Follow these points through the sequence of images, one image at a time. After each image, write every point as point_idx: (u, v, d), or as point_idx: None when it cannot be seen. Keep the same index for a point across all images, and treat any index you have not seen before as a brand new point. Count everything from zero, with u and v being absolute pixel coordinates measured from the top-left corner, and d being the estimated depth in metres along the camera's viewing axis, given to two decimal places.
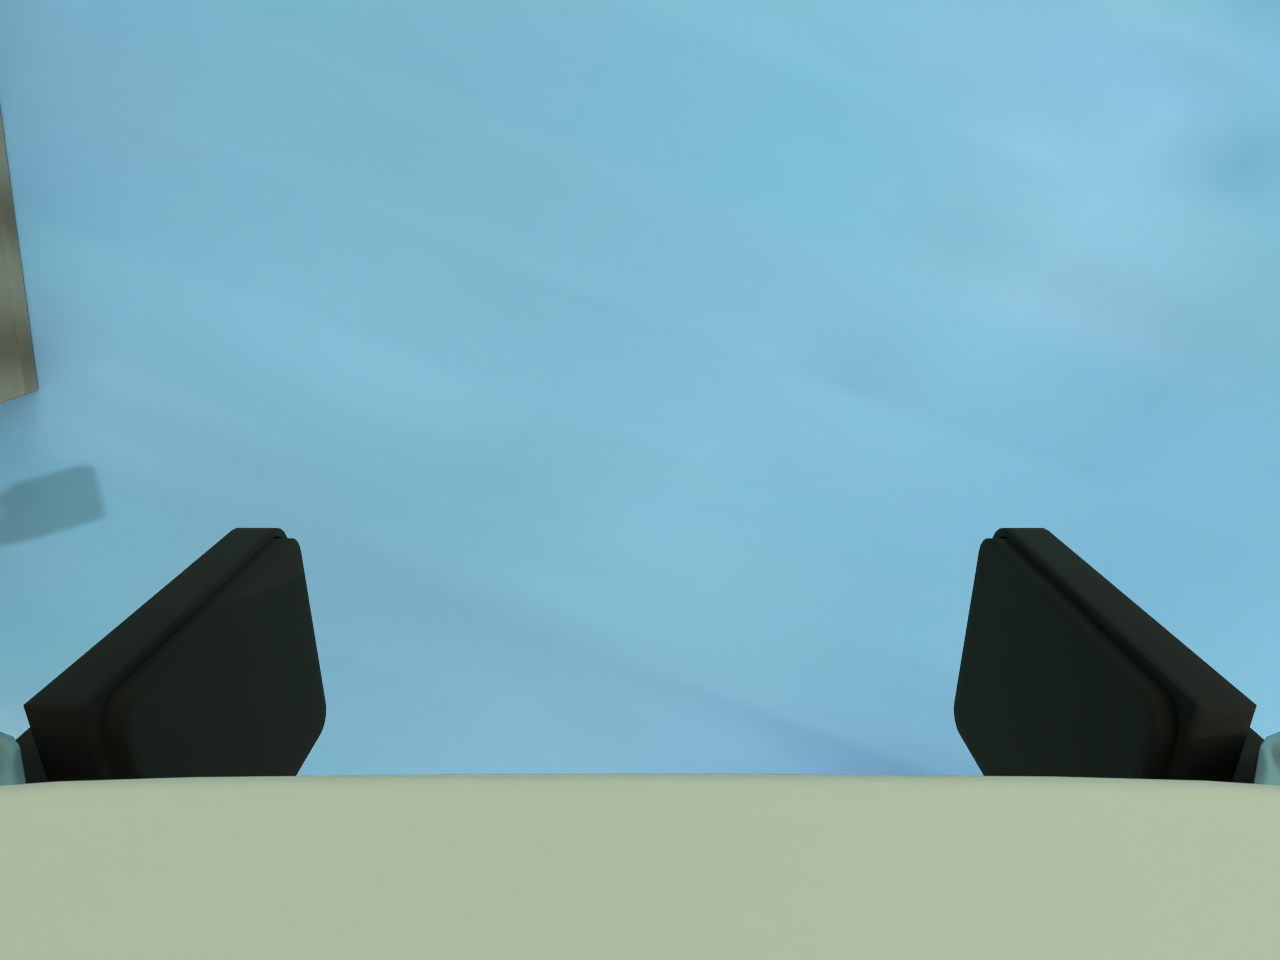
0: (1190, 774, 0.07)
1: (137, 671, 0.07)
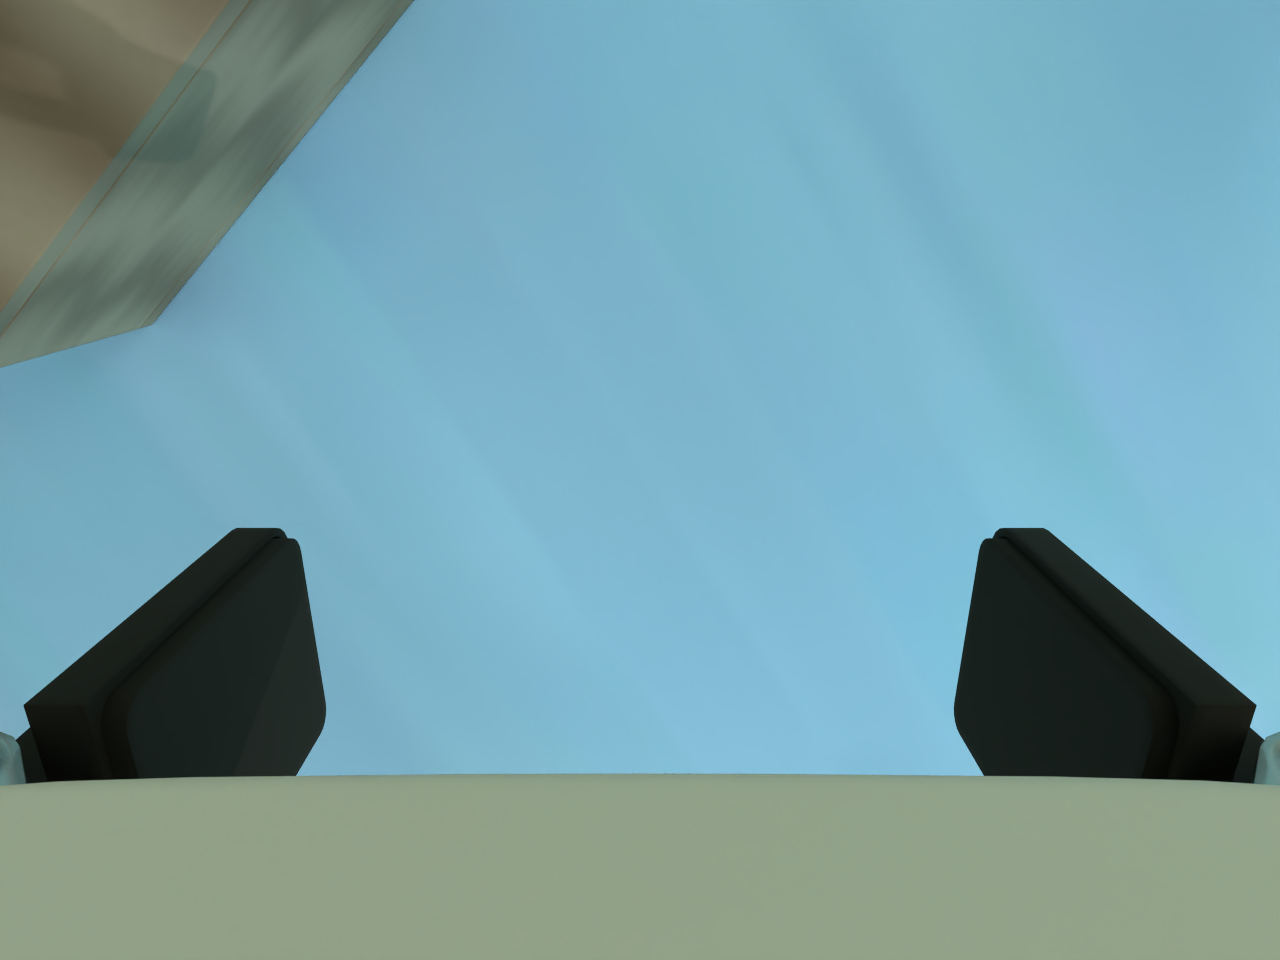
0: (1190, 775, 0.07)
1: (137, 671, 0.07)
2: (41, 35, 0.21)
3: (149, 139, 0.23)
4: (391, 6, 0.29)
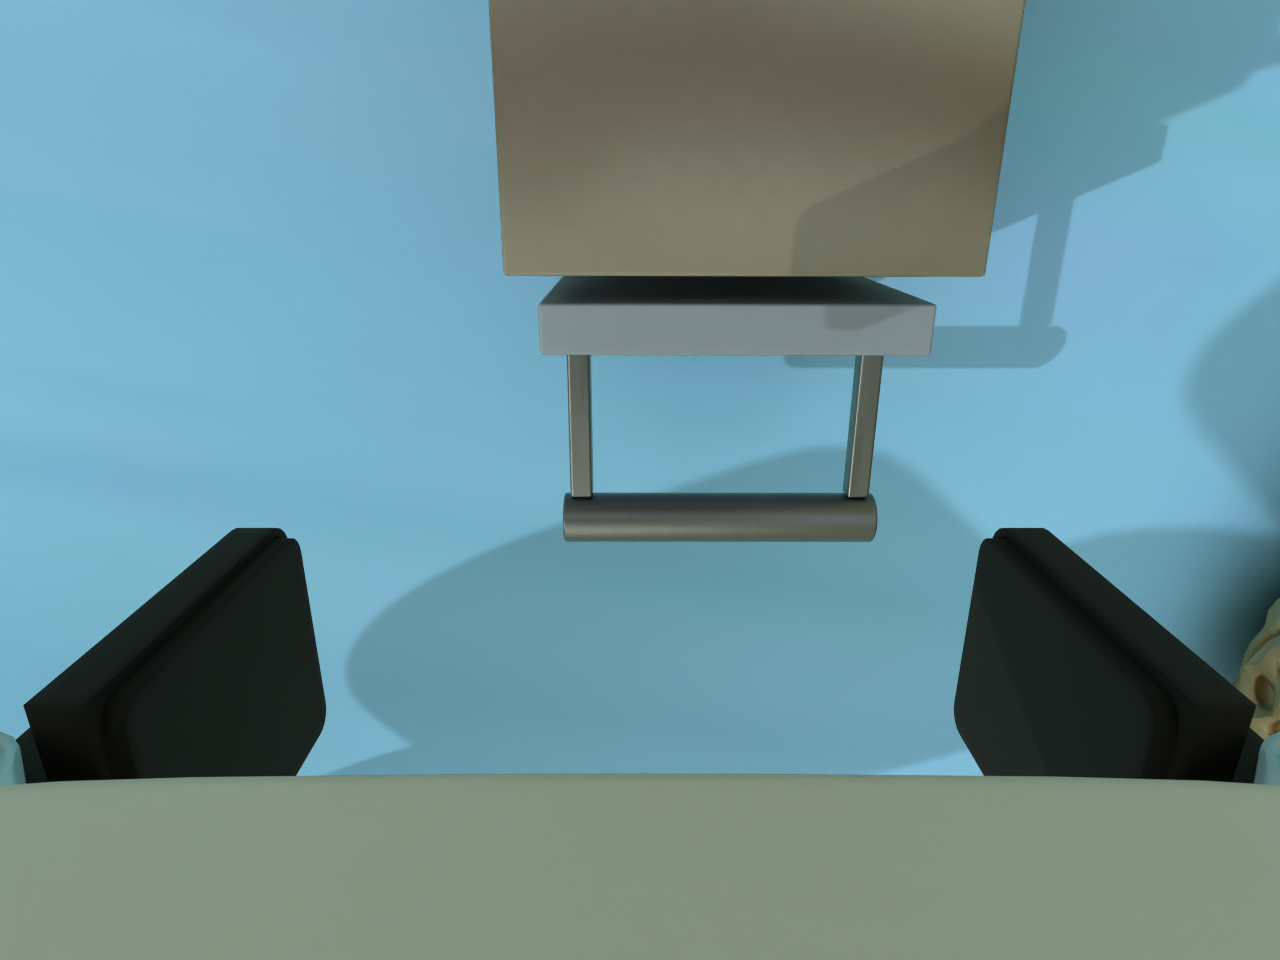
0: (1190, 774, 0.07)
1: (137, 671, 0.07)
2: None
3: None
4: None
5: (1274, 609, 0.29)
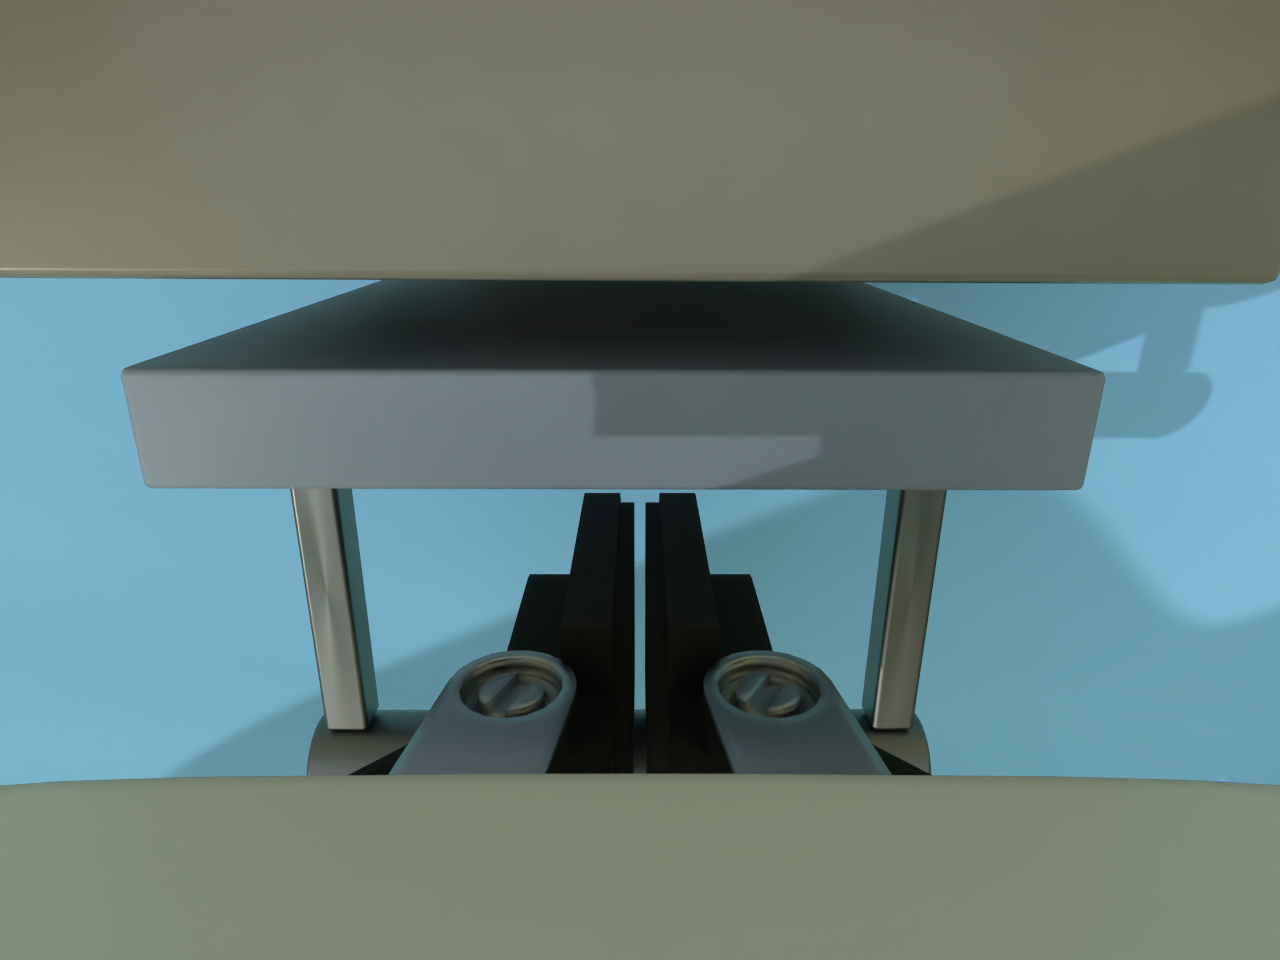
0: (681, 690, 0.08)
1: (617, 604, 0.08)
2: None
3: None
4: None
5: None
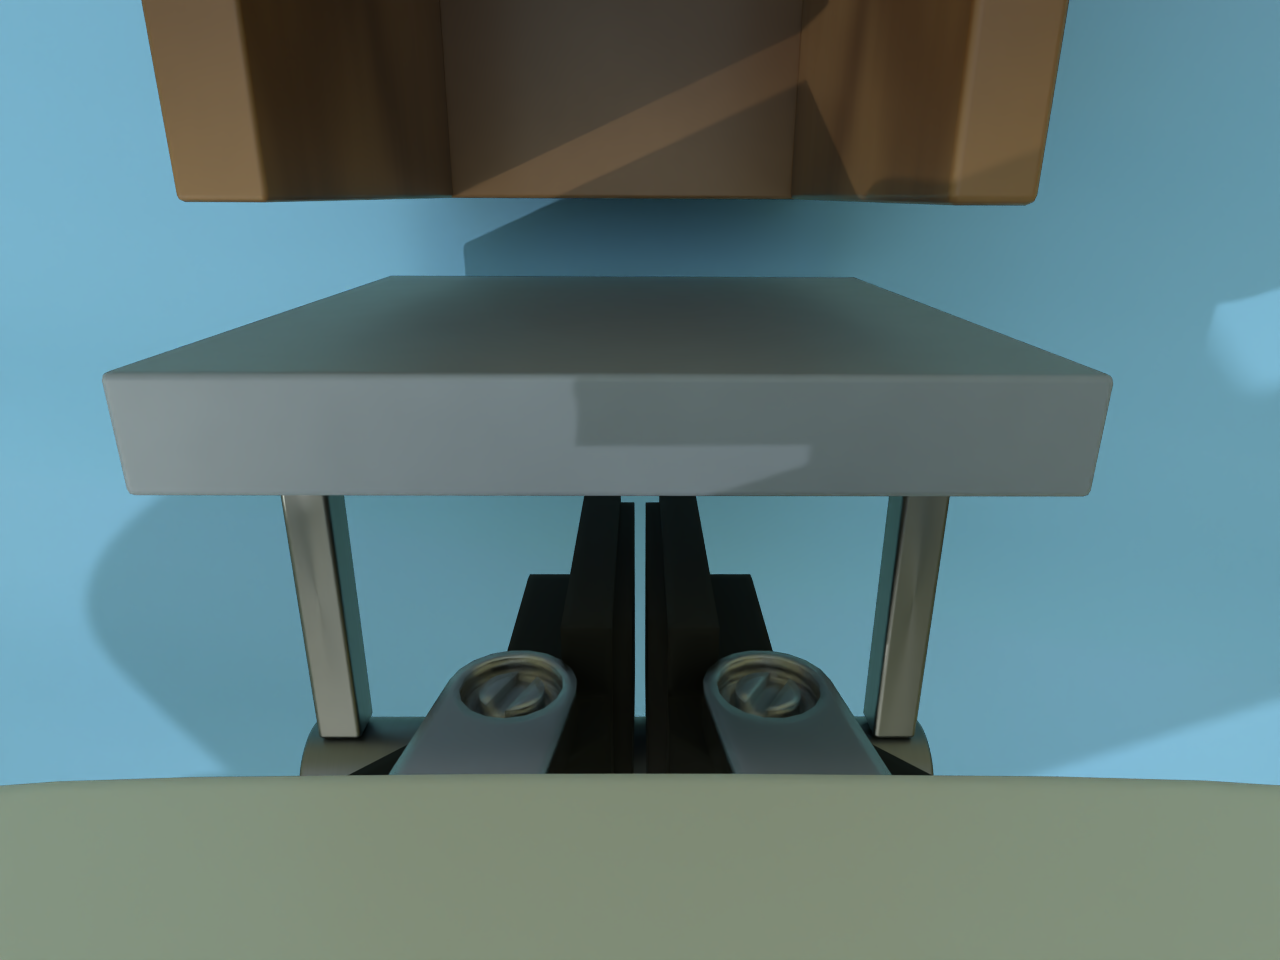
0: (681, 690, 0.08)
1: (618, 604, 0.08)
2: None
3: None
4: None
5: None
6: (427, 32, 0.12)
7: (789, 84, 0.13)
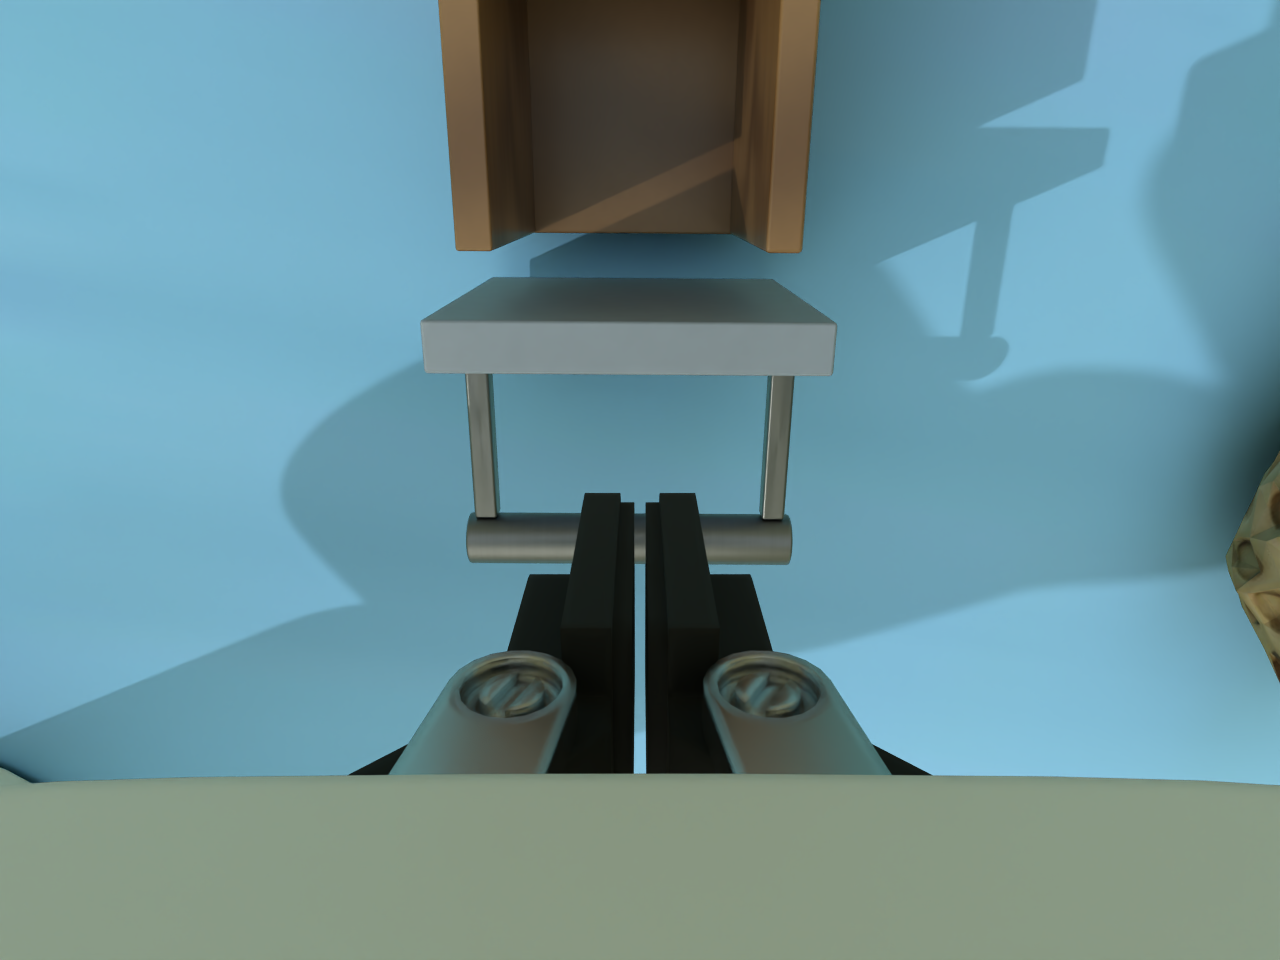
0: (681, 690, 0.08)
1: (618, 604, 0.08)
2: None
3: None
4: None
5: None
6: (527, 146, 0.22)
7: (727, 169, 0.24)
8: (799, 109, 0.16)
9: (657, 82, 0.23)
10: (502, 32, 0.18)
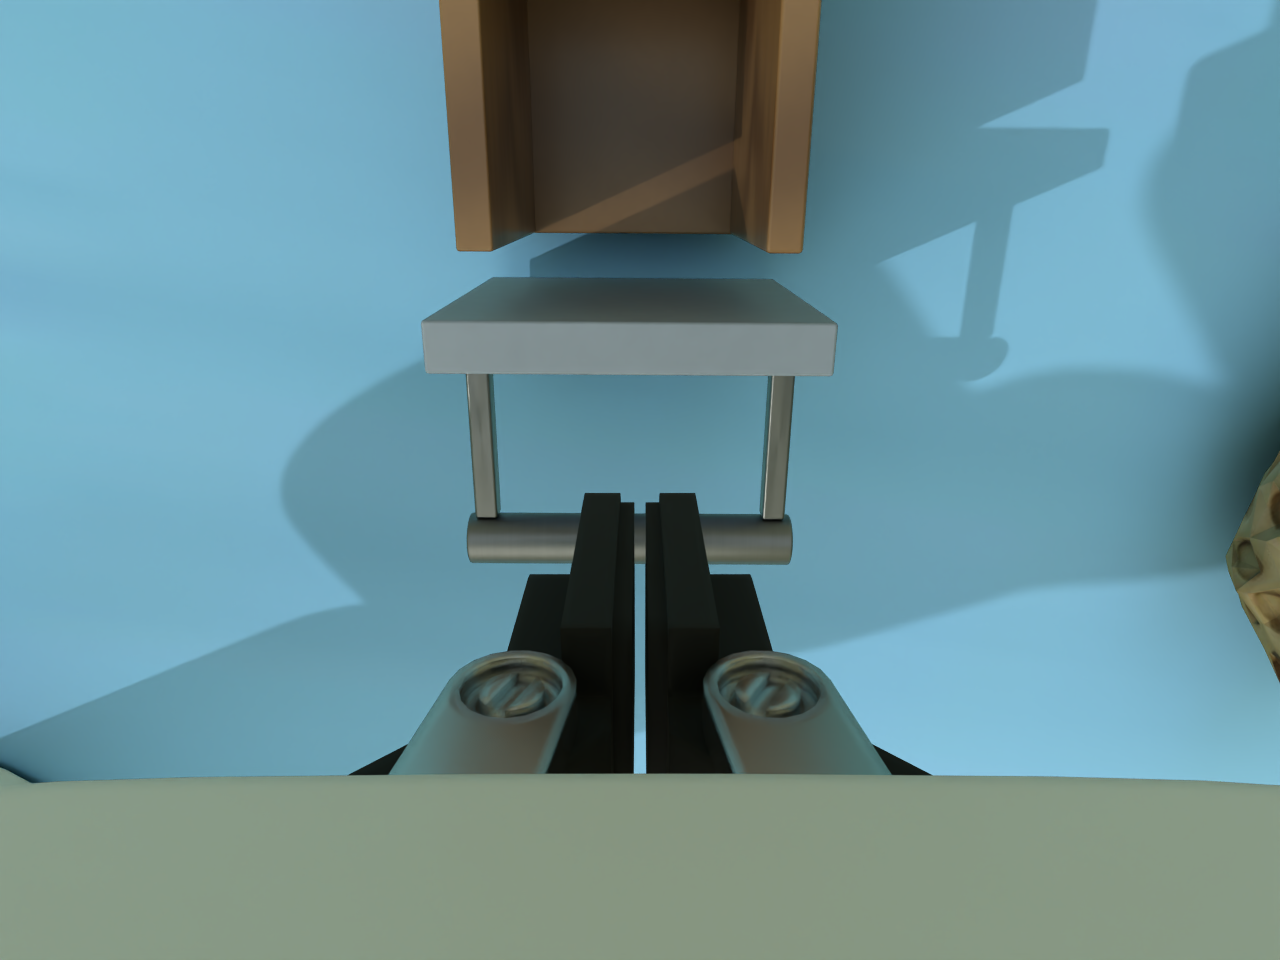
0: (681, 690, 0.08)
1: (618, 604, 0.08)
2: None
3: None
4: None
5: None
6: (527, 146, 0.22)
7: (727, 170, 0.24)
8: (800, 110, 0.16)
9: (657, 82, 0.23)
10: (502, 32, 0.18)
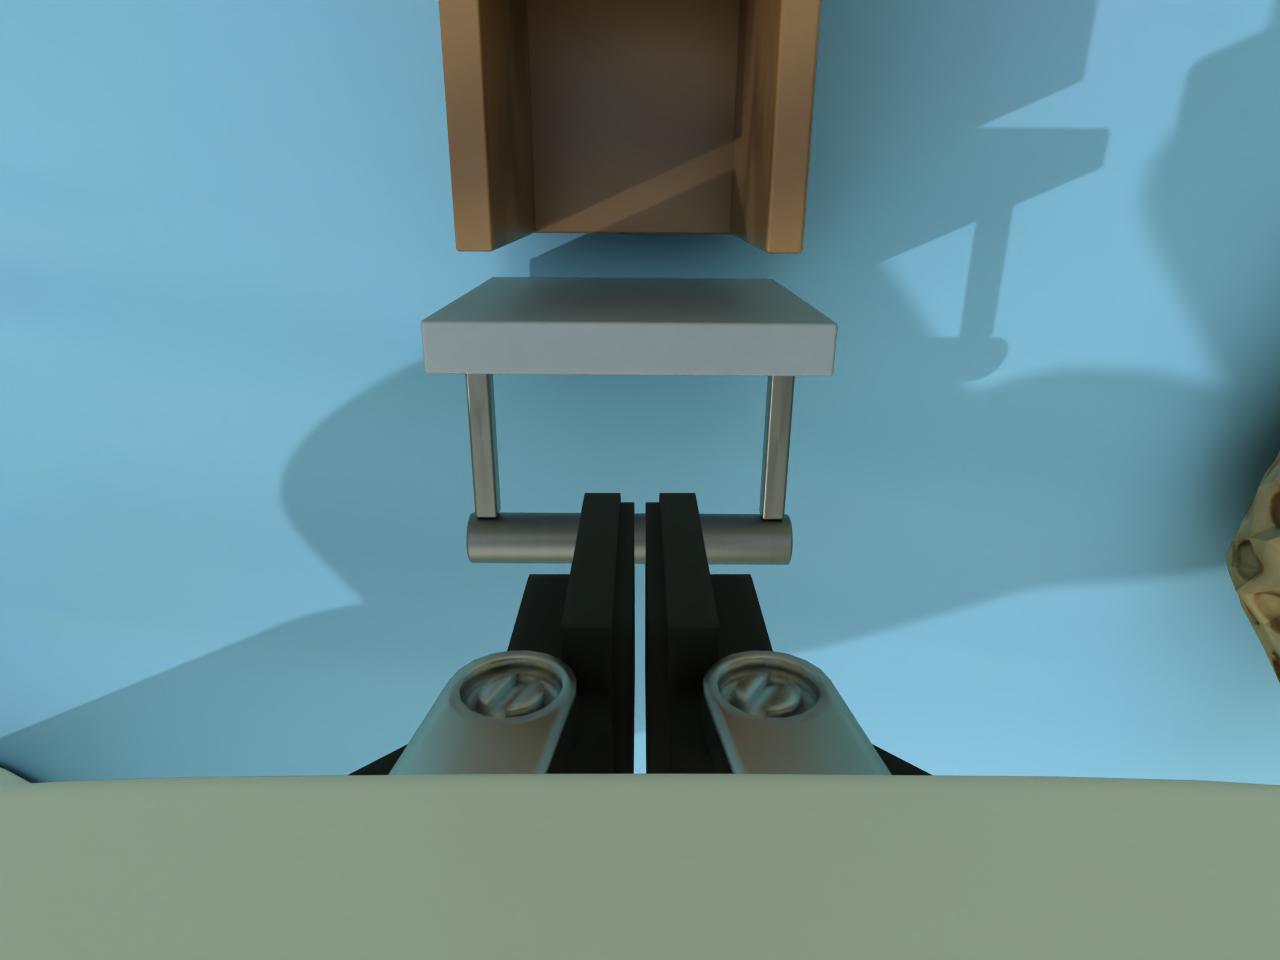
0: (681, 690, 0.08)
1: (618, 604, 0.08)
2: None
3: None
4: None
5: None
6: (527, 146, 0.22)
7: (727, 170, 0.24)
8: (799, 109, 0.16)
9: (657, 82, 0.23)
10: (502, 32, 0.18)
